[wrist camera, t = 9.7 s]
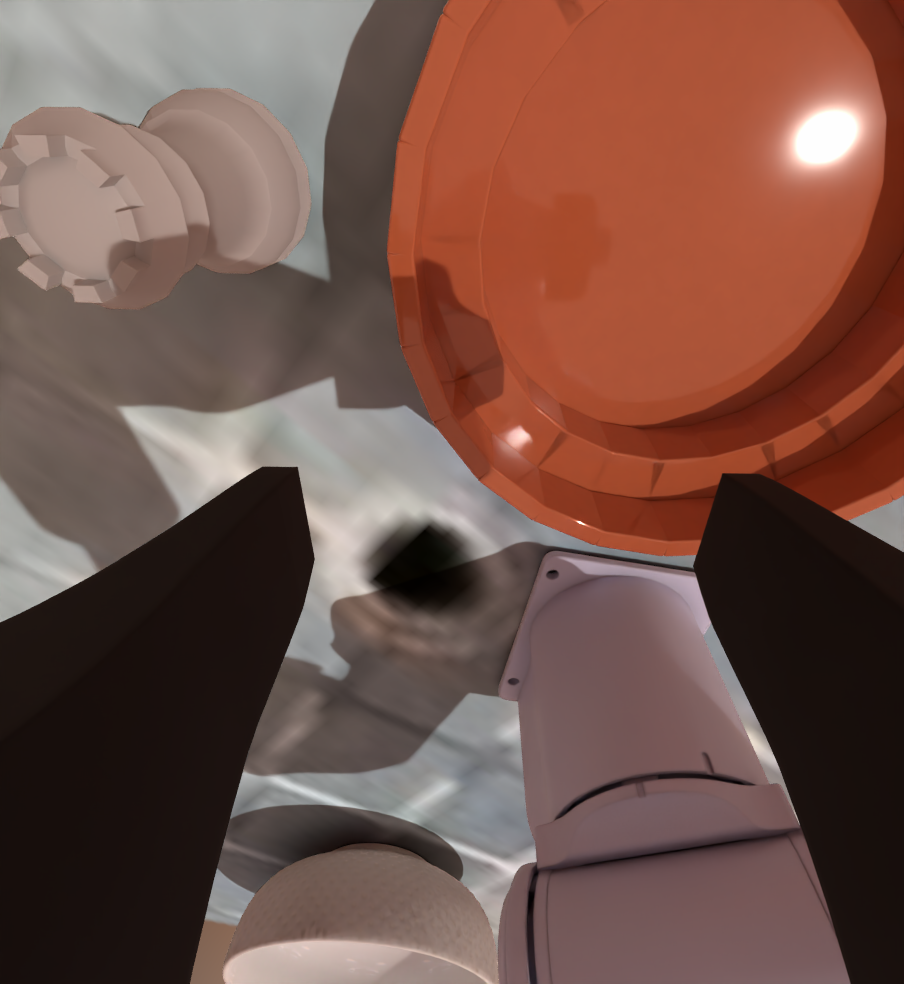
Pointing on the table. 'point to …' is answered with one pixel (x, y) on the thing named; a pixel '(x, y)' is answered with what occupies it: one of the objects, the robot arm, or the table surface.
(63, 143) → the rook chess piece
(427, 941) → the cereal bowl
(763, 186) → the terracotta bowl
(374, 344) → the table surface
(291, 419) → the table surface
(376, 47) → the table surface
